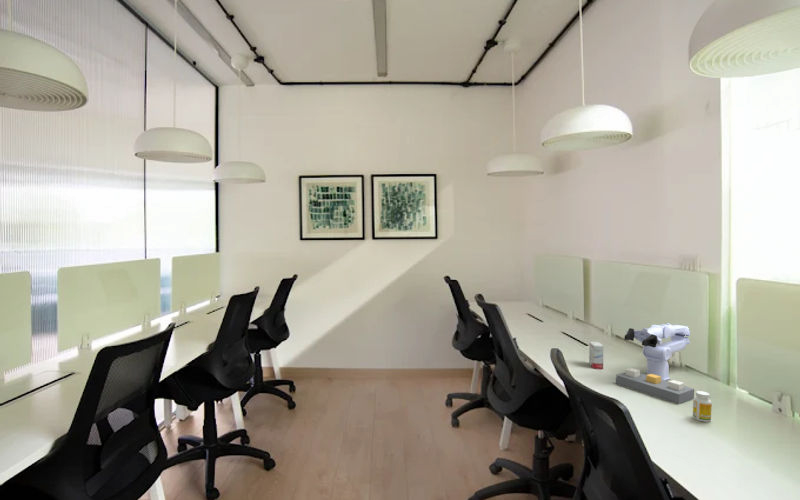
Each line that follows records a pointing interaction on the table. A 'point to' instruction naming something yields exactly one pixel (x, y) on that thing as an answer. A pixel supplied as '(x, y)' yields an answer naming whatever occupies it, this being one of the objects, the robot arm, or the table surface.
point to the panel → (655, 388)
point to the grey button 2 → (676, 385)
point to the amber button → (653, 378)
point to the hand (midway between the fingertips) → (633, 340)
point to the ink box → (596, 355)
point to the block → (632, 372)
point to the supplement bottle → (702, 406)
